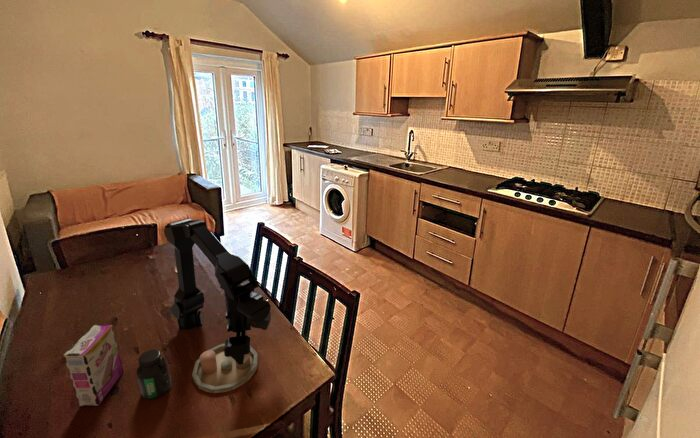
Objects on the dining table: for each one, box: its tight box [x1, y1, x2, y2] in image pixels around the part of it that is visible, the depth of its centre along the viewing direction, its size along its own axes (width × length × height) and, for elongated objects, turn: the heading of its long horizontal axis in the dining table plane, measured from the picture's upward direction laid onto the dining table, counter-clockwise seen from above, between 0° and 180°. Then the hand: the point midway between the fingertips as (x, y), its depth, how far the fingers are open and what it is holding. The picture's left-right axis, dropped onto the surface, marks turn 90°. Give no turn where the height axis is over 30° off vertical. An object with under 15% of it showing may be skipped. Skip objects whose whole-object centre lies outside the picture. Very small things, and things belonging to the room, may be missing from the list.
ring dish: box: [191, 342, 259, 394], centre depth 93 cm, size 17×17×2 cm
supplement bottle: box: [136, 348, 172, 401], centre depth 84 cm, size 7×7×12 cm
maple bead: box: [235, 354, 250, 370], centre depth 93 cm, size 4×4×5 cm
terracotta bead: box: [199, 349, 217, 375], centre depth 91 cm, size 4×4×5 cm
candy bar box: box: [63, 324, 124, 407], centre depth 83 cm, size 11×5×16 cm, turn 5°
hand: (242, 351), depth 92 cm, fingers open, 9 cm apart
